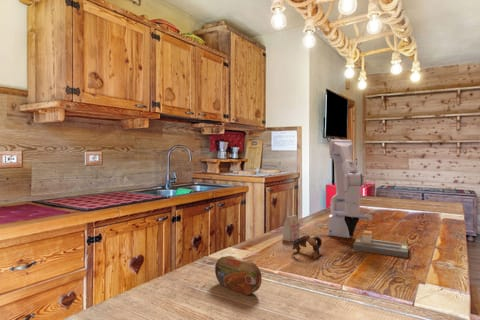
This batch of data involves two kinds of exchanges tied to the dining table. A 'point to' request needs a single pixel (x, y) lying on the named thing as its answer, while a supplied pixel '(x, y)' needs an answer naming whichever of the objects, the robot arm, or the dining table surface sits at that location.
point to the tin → (238, 274)
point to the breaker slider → (367, 236)
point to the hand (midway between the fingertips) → (351, 235)
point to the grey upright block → (291, 229)
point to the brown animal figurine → (311, 241)
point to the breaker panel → (382, 247)
